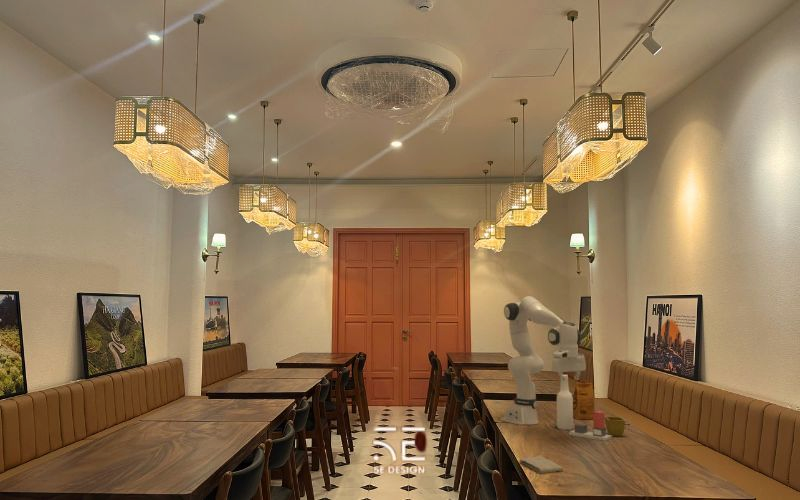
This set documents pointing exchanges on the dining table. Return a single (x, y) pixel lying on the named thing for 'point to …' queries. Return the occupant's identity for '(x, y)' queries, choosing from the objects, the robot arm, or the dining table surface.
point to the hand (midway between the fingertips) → (569, 380)
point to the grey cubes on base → (596, 434)
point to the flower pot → (615, 425)
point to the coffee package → (583, 401)
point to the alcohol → (564, 406)
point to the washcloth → (540, 464)
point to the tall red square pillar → (598, 419)
